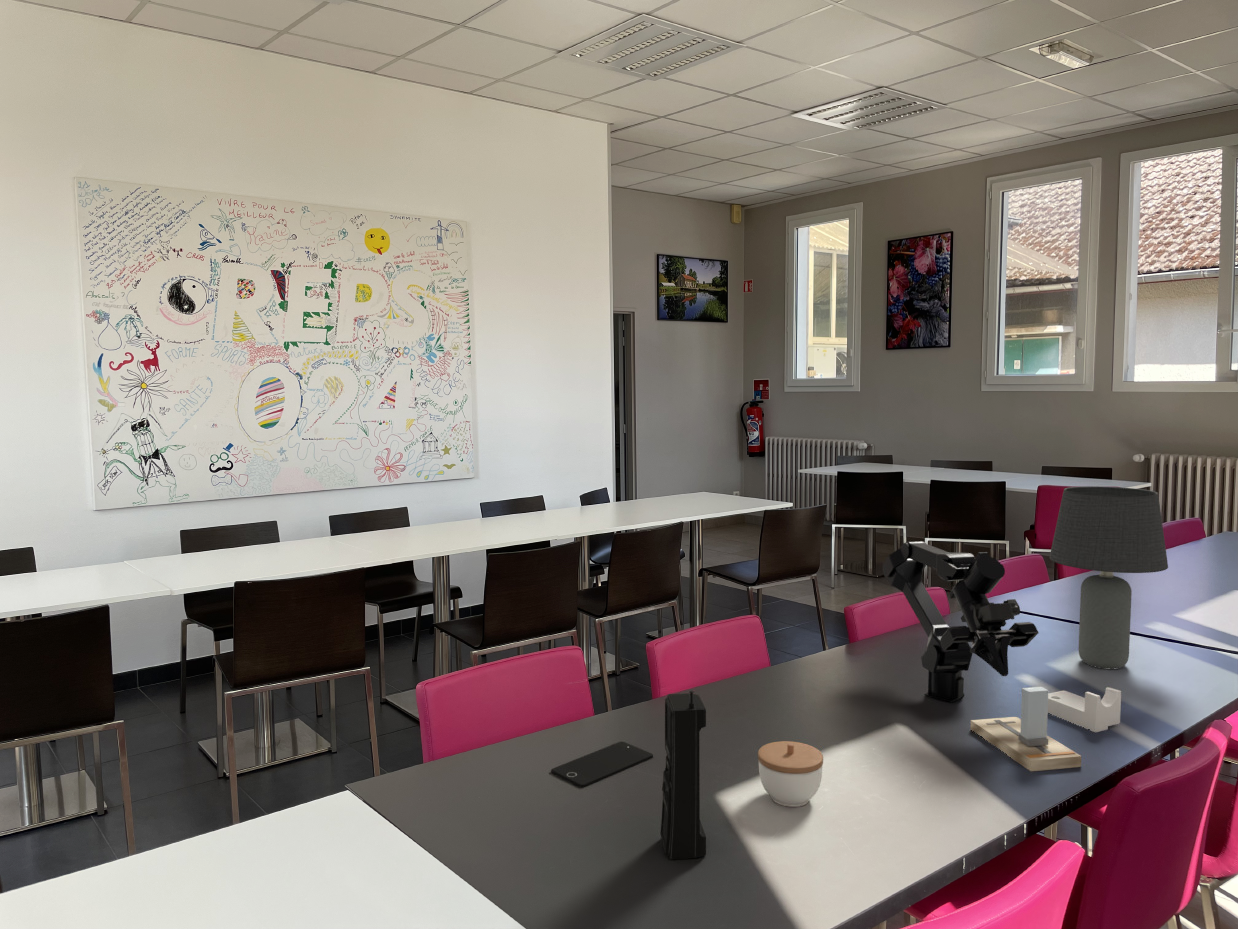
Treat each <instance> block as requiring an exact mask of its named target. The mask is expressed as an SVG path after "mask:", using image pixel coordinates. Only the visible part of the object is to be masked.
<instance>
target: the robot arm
mask: <svg viewBox="0 0 1238 929" xmlns="http://www.w3.org/2000/svg"><path fill="white" fill-rule="evenodd" d="M926 566H927V567H929V568H932V569H934V570H935V574H936V575H937V576H938V577H939V578H940V579H942V580H943V581H945V582H950V581H951V582H953V581H954V582H955V581H957V582H956V583H955V585H952V587H951V590H950V592H949V599H955V600H956V601H957V604H958V606H959V608H960V610H961V611H960V612H961V613H962V615H961V617H960V619H961V622H962V623H966V625H959V626H958V625H957V626H949V625H948V623H947V622H946V620H945V619H944V617H943V615H942V614H941V612H940V610H939V609H938V606H937V605H936V603H935V602H934V600H933V598H932V597H931V595H930V593H929V592H928V590H927V589H926V587H925V585H924V584H923V582H922V578H923V574H924V569H926ZM882 573H883V574H882V575H883V576H884V578H885V579H886V580H887V582H888V583H889V584H890V586H891V587H893V588H895V589H896V590H898V591H900V592H902V593H903V595H904V596H905V599H906V600H907V602H908V603H909V606H910V607H911V609H912V611H913V612H914V614H915V616H916V618H917V619H918V622H919V623H920V625H921V627H922V629H923V630H924V632H925V634H926V636H927V637H928V638H927V642H926V643H927V645H926V650H925V652H924V653H923V655H921V658H920V659H921V665H922V666H921V667H923V668H924V669H925V670H927V671H928V673H927V674H928V675H927V691H925V692H924V694H923V695H924V696H925V697H929V698H933V699H937V700H941V701H943V702H947V703H948V702H949V703H953V702H956V701H958V700H959V699H961V698H963V697H964V696H965V692H964V682H965V681H964V677H963V676H962V672H963V671H969V669H970V665H971V661H972V658H973V654H975V655H976V656H977V657H979V658H980V659H981V660H983V661H984V662H986V663H987V665H989V666H990V667H991V668H992V669H993V670H994V671H996V672H997V673H998V674H999V675H1000V676H1001V677H1007V676H1008V675H1009V663H1008V662H1009V659H1008V658H1009V657H1008V650H1009V649H1008V648H1009V647H1011V648H1021V647H1025V646H1028V645H1029V644H1030V643H1031V641H1032V640H1033V639H1034V638H1035V637H1036V636H1037V635H1038V634H1039V630H1038V628H1037V627H1036V625H1035V623H1033V622H1031V621H1022V622H1014V623H1013V624H1012V625H1011V626H1010V627H1009V629H1002V627H1005V626H1006V625H1007V622H1006V621H1008V620H1015V617H1016V616H1019V615H1021V608H1020V605H1019V603H1018V601H1017V600H1016V599H1014V598H1013V599H1012V598H1010V599H1009V598H1008V599H1007V600H1003V602H1001V603H998V602H997V603H994V602H990V600H989V599H988V597H987V594H989V593H991V592H992V591H993V589H994V588H995V587H996V586H997V585H998V583H999V582H1000V581H1001V580H1002V579H1003V577H1004V576H1005V573H1006V570H1005V566H1004V564H1002V563H1001V562H1000V561H999V560H998V559H996V558H994V557H991V556H989V553H988V552H987V551H985V552H984V551H983V552H978V553H976V554H975V556H974V554H973V553H971V552H970V553H969V552H948V551H946V550H944V549H941V548H938V547H936V546H932V545H930V544H928V543H926V542H925V541H922V540H920V541H918V540H917V541H916V540H915V541H906V542H903V543H902V545H900V548H898V549H897V550H895V551H893V552H892V553H890V554H889V555H888V556H887V557H886V560H885V561H884V562H883V564H882ZM970 644H971V645H970Z"/></svg>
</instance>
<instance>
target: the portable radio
mask: <svg viewBox="0 0 1238 929" xmlns="http://www.w3.org/2000/svg"><path fill="white" fill-rule="evenodd" d="M688 692H689V693H668V694H667V697H666V698H665V699H664V750H665V753H666V756H665V768H664V770H663V773H662V774H663V775H662V778H663V779H662V788H661V791H662V803H661V804H662V806H661V821H660V838H661V843H662V846H663V849H664V854H665V855H666V856H668V859H670V860H686V859H687V860H688V859H690V860H691V859H696V858H698V859H699V858H701V857H703V856H706V855H707V836H706V833H705V830H704V828H703V825H702V822H701V819H700V818H701V816H700V815H701V814H700V812H701V810H700V805H701V804H700V802H701V801H700V799H701V797H700V795H701V794H700V792H701V791H700V783H701V782H700V780H701V779H700V733H701V732H700V731H701V729H704V728H705V727H707V708H706V707H705V705H704V703H703V701H702V699H701V697H700V694H695V693H694V692H695V691H693V690H690V691H688Z"/></svg>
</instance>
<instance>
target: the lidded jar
mask: <svg viewBox="0 0 1238 929" xmlns="http://www.w3.org/2000/svg"><path fill="white" fill-rule="evenodd" d="M757 760H758V771H759V779H760V782H761V785H762V787H763V789H764V790H765V791H766V793H767V795H768V796H769V797H771V800H772V801H773V802H775V803H776V804H778V805H780V806H783V807H789V808H798V807H802V806H806V805H807V804H808V803H809V801H810V800H811V799H813V797H815V795H816V794H817V792H818V791H819V788H820V786H821V783H822V778H823V764H824V755H823V753H822V752H821V751H820V750H819V749H818V748H817V747H814V746H812V745H810V744H806V743H803V742H798V741H790V740H789V741H788V740H782V741H774V742H769V743H766V744H764V745H762V746H761V747H760V748H759V750H758V752H757Z"/></svg>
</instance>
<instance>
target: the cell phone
mask: <svg viewBox="0 0 1238 929" xmlns="http://www.w3.org/2000/svg"><path fill="white" fill-rule="evenodd" d="M653 758H654V754H653V753H651V752H649V751H647V750H644V749H642V748H639V747H637V746H635V745H632V744H630V743H628V742H626V741H619V742H616V743H613V744H610V745H608V746H606V747H604V748H601V749H598V750H596V751H593V752H590V753H588V754H586V755H583V756H580V757H578V758H575V759H573V760H571V761H567V762H565V763H563V764H561V765H558V766H556V767H553V768H551V769H550V773H551V774H552V775H555V776H556V777H558V778H560V779H562V780H565V781H567V782H569V783H570V784H573V785H574V786H577V787H579V788H580V789H584V788H588V787H589V786H592V785H593V784H596V783H598V782H600V781H603V780H606V779H607V778H610V777H612V776H615V775H616V774H618V773H622V772H623V771H625V770H628V769H630V768H633V767H635V766H637V765H640V764H641V763H644V762H647V761H649V760H651V759H653Z"/></svg>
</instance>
